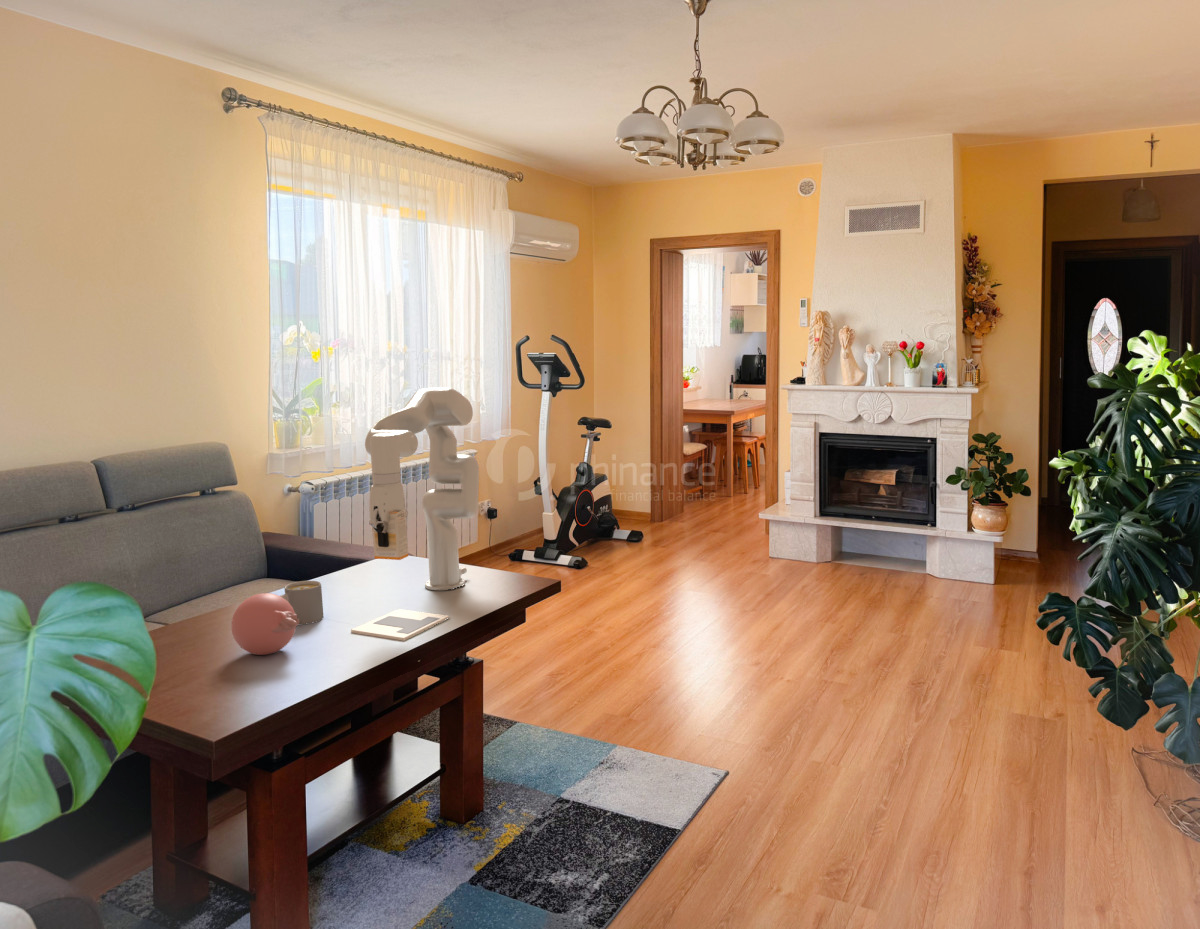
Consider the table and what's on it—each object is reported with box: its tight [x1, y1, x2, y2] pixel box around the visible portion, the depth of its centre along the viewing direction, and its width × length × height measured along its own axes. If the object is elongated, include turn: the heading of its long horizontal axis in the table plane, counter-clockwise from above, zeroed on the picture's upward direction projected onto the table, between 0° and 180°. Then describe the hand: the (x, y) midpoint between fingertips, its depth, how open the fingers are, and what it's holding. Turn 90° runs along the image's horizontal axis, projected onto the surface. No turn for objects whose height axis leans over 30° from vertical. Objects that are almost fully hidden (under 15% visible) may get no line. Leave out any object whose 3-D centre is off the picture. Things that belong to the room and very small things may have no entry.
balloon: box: [230, 592, 299, 656], centre depth 218 cm, size 15×20×15 cm
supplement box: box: [371, 510, 409, 561], centre depth 237 cm, size 8×5×13 cm, turn 71°
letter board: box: [350, 608, 450, 642], centre depth 240 cm, size 20×18×1 cm
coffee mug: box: [279, 580, 324, 625], centre depth 247 cm, size 13×10×10 cm
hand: (390, 543), depth 238 cm, fingers closed on supplement box, 5 cm apart
